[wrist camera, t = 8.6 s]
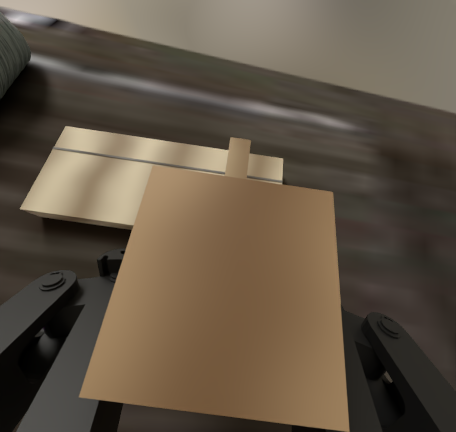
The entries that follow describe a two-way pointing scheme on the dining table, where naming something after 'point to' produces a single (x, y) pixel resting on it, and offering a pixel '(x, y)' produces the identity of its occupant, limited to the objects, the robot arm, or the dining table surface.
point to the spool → (11, 54)
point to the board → (120, 175)
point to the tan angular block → (227, 302)
